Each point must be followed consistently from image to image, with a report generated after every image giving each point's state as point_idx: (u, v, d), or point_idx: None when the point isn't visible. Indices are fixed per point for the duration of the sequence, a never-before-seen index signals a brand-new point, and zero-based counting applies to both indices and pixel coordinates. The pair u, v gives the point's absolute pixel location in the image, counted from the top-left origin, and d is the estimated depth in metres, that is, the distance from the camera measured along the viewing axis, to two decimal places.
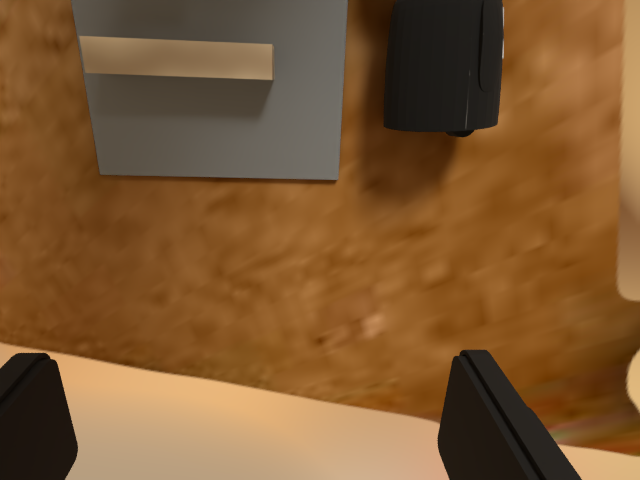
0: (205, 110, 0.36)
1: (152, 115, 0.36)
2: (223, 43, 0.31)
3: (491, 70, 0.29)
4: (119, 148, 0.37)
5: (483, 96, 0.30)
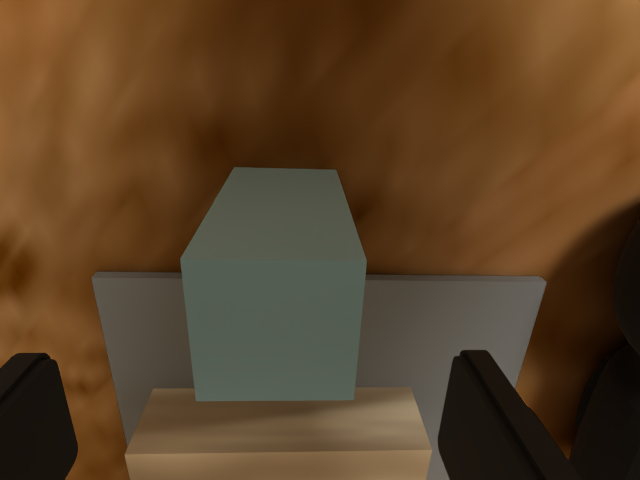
0: None
1: None
2: (355, 452, 0.19)
3: None
4: None
5: None
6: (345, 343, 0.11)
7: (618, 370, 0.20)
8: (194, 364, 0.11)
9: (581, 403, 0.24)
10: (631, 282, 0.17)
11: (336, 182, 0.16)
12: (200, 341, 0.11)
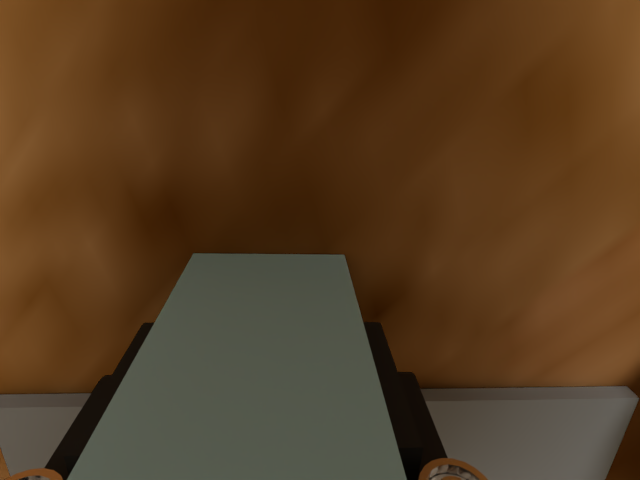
0: None
1: None
2: None
3: None
4: None
5: None
6: None
7: None
8: None
9: None
10: None
11: (347, 287, 0.11)
12: None
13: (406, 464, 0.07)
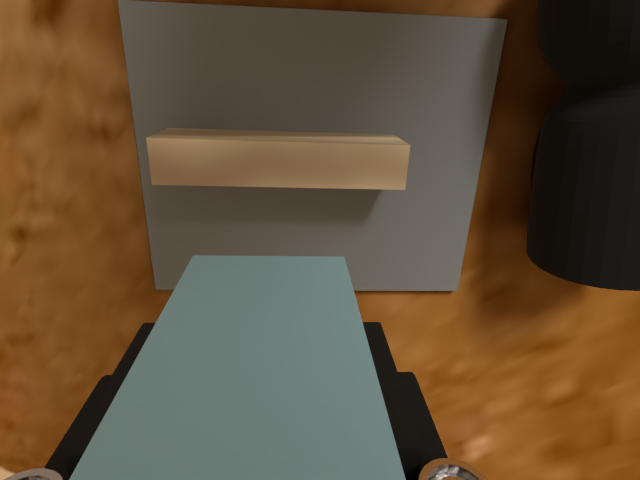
0: (296, 212, 0.28)
1: (227, 219, 0.28)
2: (344, 145, 0.22)
3: None
4: (181, 259, 0.28)
5: None
6: None
7: (551, 107, 0.24)
8: None
9: (533, 169, 0.27)
10: (543, 1, 0.21)
11: (347, 289, 0.11)
12: None
13: (406, 464, 0.07)
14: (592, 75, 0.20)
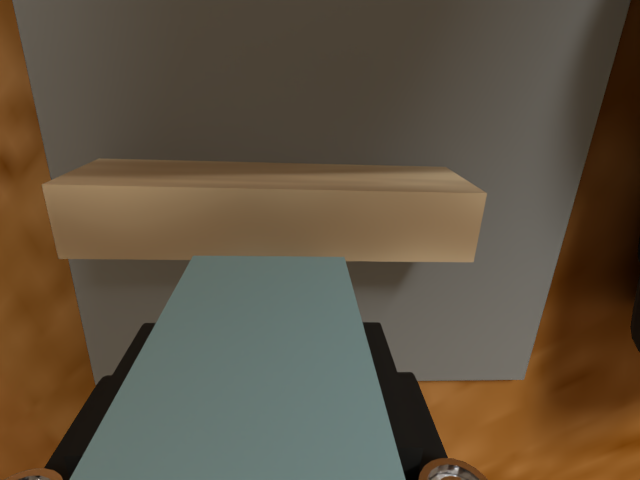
0: None
1: None
2: (377, 193, 0.13)
3: None
4: None
5: None
6: None
7: None
8: None
9: None
10: None
11: (347, 290, 0.11)
12: None
13: (406, 464, 0.07)
14: None
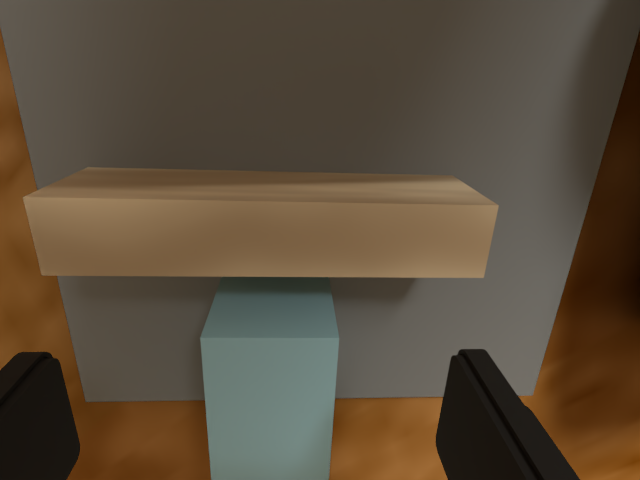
0: None
1: (190, 303, 0.18)
2: (382, 206, 0.12)
3: None
4: (123, 360, 0.19)
5: None
6: None
7: None
8: None
9: None
10: None
11: (330, 387, 0.14)
12: None
13: None
14: None
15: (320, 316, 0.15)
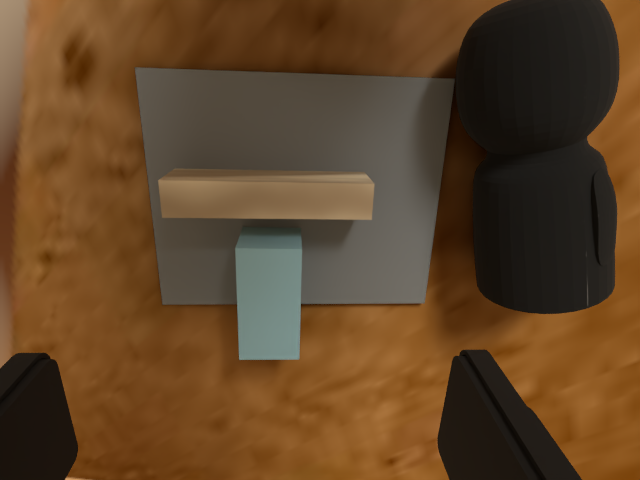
0: None
1: (224, 243, 0.32)
2: (320, 184, 0.27)
3: (609, 244, 0.26)
4: (185, 278, 0.33)
5: (603, 270, 0.26)
6: None
7: (478, 167, 0.29)
8: None
9: None
10: (457, 91, 0.27)
11: (299, 276, 0.29)
12: None
13: None
14: (499, 148, 0.26)
15: (293, 242, 0.29)
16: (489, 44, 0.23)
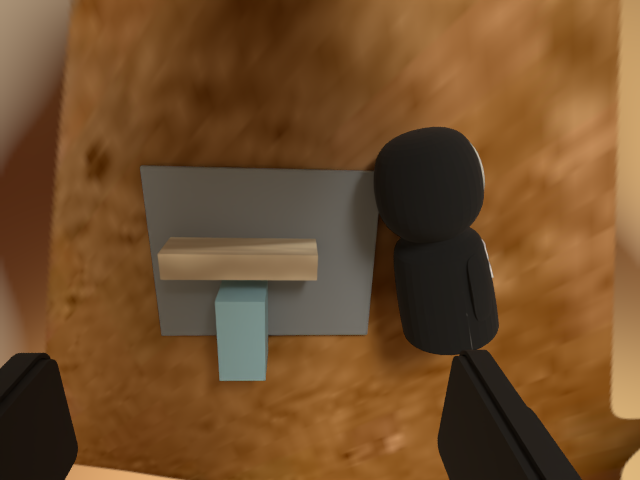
0: None
1: (209, 290, 0.42)
2: (277, 256, 0.37)
3: (484, 307, 0.35)
4: (179, 315, 0.43)
5: (482, 324, 0.36)
6: None
7: (397, 243, 0.39)
8: None
9: None
10: None
11: (263, 321, 0.38)
12: None
13: None
14: (403, 238, 0.35)
15: (259, 294, 0.39)
16: (388, 172, 0.32)
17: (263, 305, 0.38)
